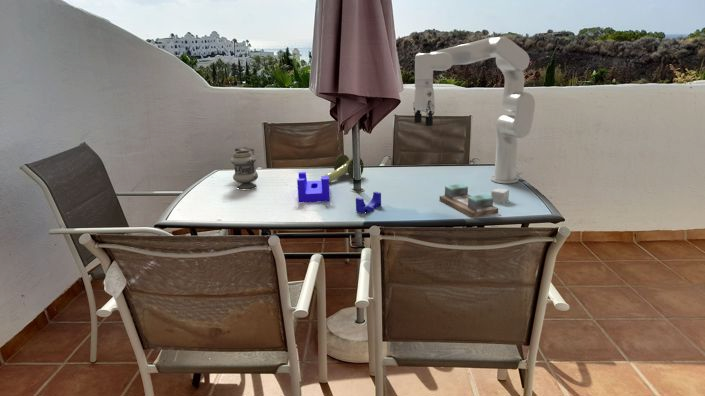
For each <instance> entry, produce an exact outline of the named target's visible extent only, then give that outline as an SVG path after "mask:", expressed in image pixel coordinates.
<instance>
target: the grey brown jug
mask: <svg viewBox="0 0 705 396" xmlns="http://www.w3.org/2000/svg"><path fill="white" fill-rule="evenodd" d="M234 150H235V151H234V152H236V151H241V150H250V151H251V152H252V155H254V156H255V155H256V154H255V149H254V148H251V147H247V146H244V147H243V146H242V147H237V148H235V149H234ZM255 157H256V156H255ZM254 169H255V171H256V172H257V168H256V161H255V162H254Z"/></svg>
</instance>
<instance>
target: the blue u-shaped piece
mask: <svg viewBox="0 0 705 396" xmlns="http://www.w3.org/2000/svg"><path fill="white" fill-rule="evenodd" d="M379 206H380V207H382V192H379V191H373V192H372V198H371V200H370V202H369V203H368V204H365V200H364V197H363V198H362V197H356V198H355V212H356V211H357V212H356V213H359V212H361V213H360V214H362V213H365V212H368V213H370V212H369V211H371V212H373V210H374V211H375V209H377V208H380V207H379ZM376 207H377V208H376ZM374 208H375V209H374Z"/></svg>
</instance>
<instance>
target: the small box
mask: <svg viewBox="0 0 705 396" xmlns="http://www.w3.org/2000/svg"><path fill="white" fill-rule="evenodd" d="M490 193H491V194H490V195H491V197H493V203H496V204H501V205H502V204H503V205H504V204H505V203H507V202H508V201H509V199H510V190H509V189H506V188H498V187H497V188H495V189H493V190H491V192H490Z"/></svg>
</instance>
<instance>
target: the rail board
mask: <svg viewBox="0 0 705 396" xmlns="http://www.w3.org/2000/svg"><path fill="white" fill-rule="evenodd" d="M468 192H469V186H467V185H465V184H463V183H458V184H452V185H445V186H444V194H443V195H439V201H440V202H441V203H443V204H445V205H447V206H448V207H451V208H453V209H455V210H457V211H459V212H460V213H462V214H463V215H465V216H467V217H470V218H471V219H473V218H478V217H484V216H489V215H495V214H496V215H497V214H498V213H499V208H498V207H496V206H494V202H493V197H491V196H490V195H489V194H479V195H473V196H472V195H471V194H469V193H468Z"/></svg>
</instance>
